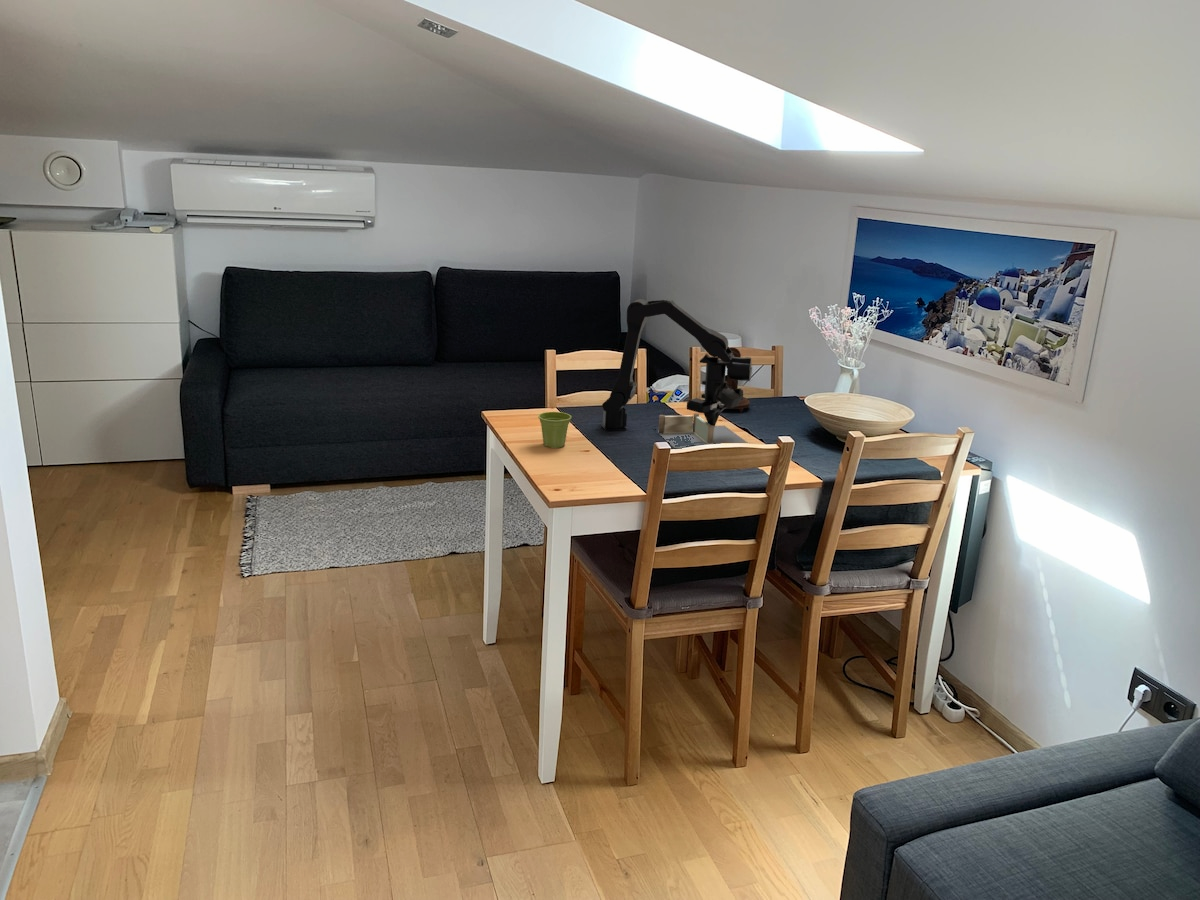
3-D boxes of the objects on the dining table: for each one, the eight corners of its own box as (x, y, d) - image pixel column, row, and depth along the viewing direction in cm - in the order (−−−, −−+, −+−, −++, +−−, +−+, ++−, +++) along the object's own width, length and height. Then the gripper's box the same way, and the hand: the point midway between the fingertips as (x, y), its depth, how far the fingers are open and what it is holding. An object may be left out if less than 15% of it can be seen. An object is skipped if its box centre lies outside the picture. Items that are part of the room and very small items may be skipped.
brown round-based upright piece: (706, 400, 322) (711, 343, 316) (749, 404, 320) (755, 347, 314) (704, 411, 309) (709, 352, 302) (749, 415, 307) (755, 355, 300)
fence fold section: (694, 431, 282) (695, 415, 281) (698, 431, 283) (700, 415, 281) (708, 443, 272) (709, 426, 270) (713, 443, 272) (715, 426, 271)
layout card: (675, 449, 267) (675, 448, 267) (652, 428, 286) (652, 427, 286) (751, 446, 273) (751, 445, 273) (724, 426, 292) (724, 425, 292)
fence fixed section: (659, 433, 280) (660, 415, 278) (657, 432, 282) (658, 414, 280) (698, 432, 283) (699, 414, 282) (696, 430, 285) (697, 413, 283)
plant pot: (541, 451, 259) (542, 421, 256) (534, 440, 267) (535, 412, 265) (573, 449, 262) (575, 420, 259) (565, 439, 270) (566, 411, 267)
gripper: (717, 389, 260) (714, 441, 265) (756, 378, 273) (752, 428, 278) (686, 381, 267) (683, 432, 272) (726, 371, 280) (722, 420, 285)
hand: (711, 428), depth 277 cm, fingers closed
